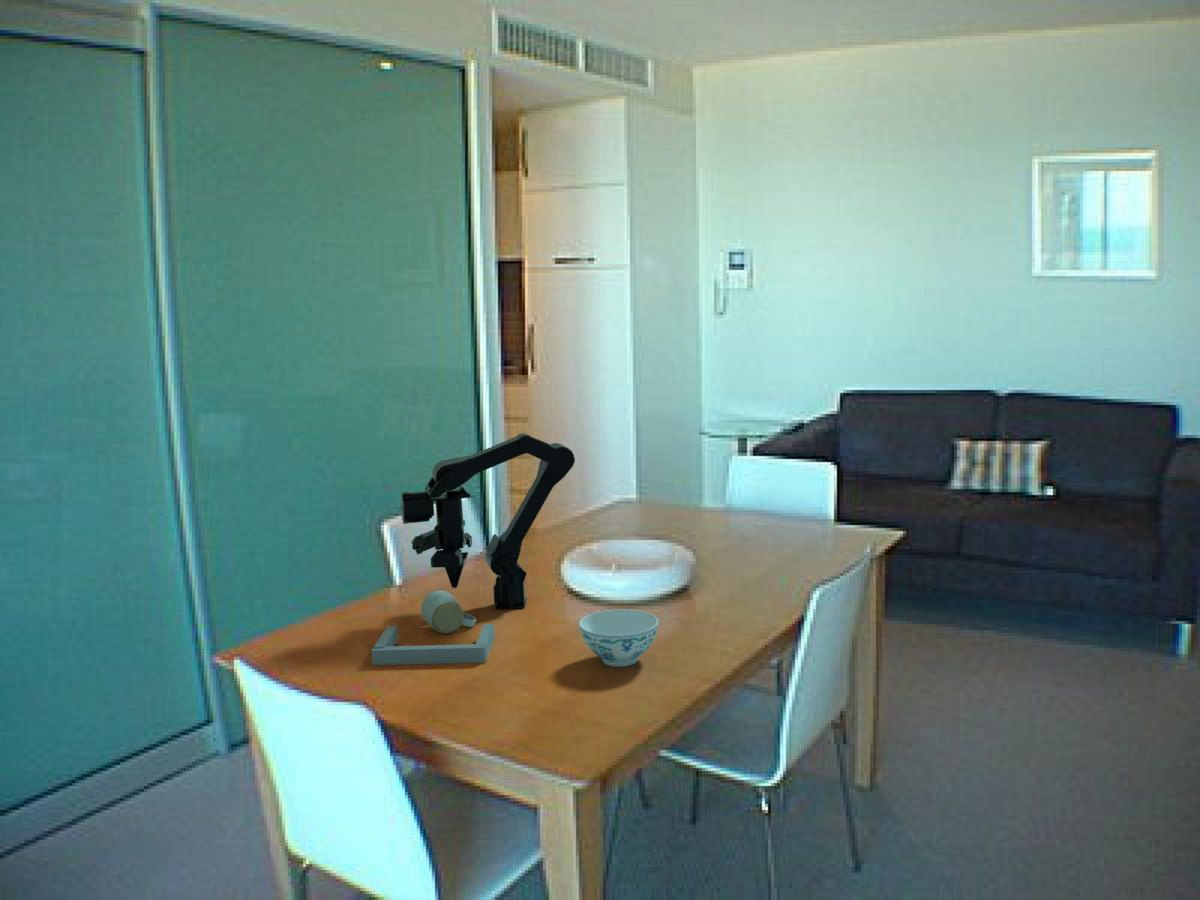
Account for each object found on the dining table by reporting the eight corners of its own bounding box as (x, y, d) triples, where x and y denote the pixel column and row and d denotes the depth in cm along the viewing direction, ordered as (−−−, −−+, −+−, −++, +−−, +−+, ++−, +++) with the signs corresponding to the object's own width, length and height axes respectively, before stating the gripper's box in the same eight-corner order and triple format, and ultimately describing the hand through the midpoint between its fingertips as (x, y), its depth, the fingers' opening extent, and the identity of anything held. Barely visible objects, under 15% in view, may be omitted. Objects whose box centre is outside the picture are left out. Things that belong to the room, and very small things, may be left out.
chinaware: (567, 656, 210) (565, 618, 209) (633, 641, 217) (632, 604, 216) (605, 681, 197) (603, 640, 196) (674, 663, 204) (673, 624, 203)
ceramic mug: (433, 638, 224) (431, 602, 222) (421, 627, 231) (419, 592, 230) (481, 630, 228) (480, 595, 227) (469, 619, 235) (467, 585, 234)
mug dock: (494, 637, 223) (494, 623, 222) (485, 662, 209) (484, 647, 208) (388, 640, 223) (387, 626, 223) (372, 665, 210) (371, 650, 209)
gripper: (421, 510, 246) (426, 576, 249) (404, 530, 228) (409, 601, 230) (470, 508, 246) (474, 574, 248) (457, 528, 227) (461, 600, 230)
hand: (454, 587), depth 239 cm, fingers closed
